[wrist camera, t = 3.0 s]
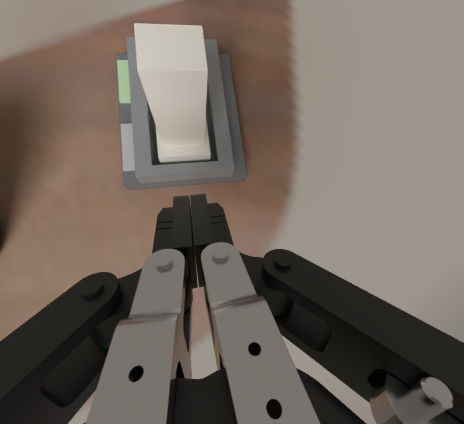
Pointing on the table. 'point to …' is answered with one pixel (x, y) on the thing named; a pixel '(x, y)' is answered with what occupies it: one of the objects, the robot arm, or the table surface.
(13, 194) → the table surface
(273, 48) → the table surface
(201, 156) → the block
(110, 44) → the table surface
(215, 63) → the grey slotted stand
